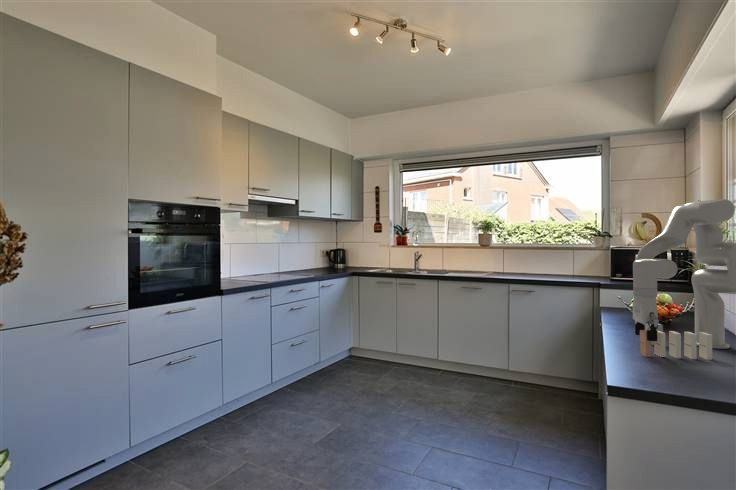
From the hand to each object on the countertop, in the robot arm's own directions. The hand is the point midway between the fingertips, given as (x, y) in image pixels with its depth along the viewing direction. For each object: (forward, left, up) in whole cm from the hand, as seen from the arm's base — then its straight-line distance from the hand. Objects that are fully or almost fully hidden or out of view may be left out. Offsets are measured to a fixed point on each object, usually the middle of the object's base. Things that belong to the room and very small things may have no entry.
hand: (645, 337), depth 155 cm
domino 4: (-10, +10, -7) cm, 16 cm away
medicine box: (-23, -8, -7) cm, 25 cm away
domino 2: (-3, +3, -7) cm, 8 cm away
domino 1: (0, 0, -7) cm, 7 cm away
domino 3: (-7, +7, -7) cm, 11 cm away
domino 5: (-14, +13, -7) cm, 21 cm away
